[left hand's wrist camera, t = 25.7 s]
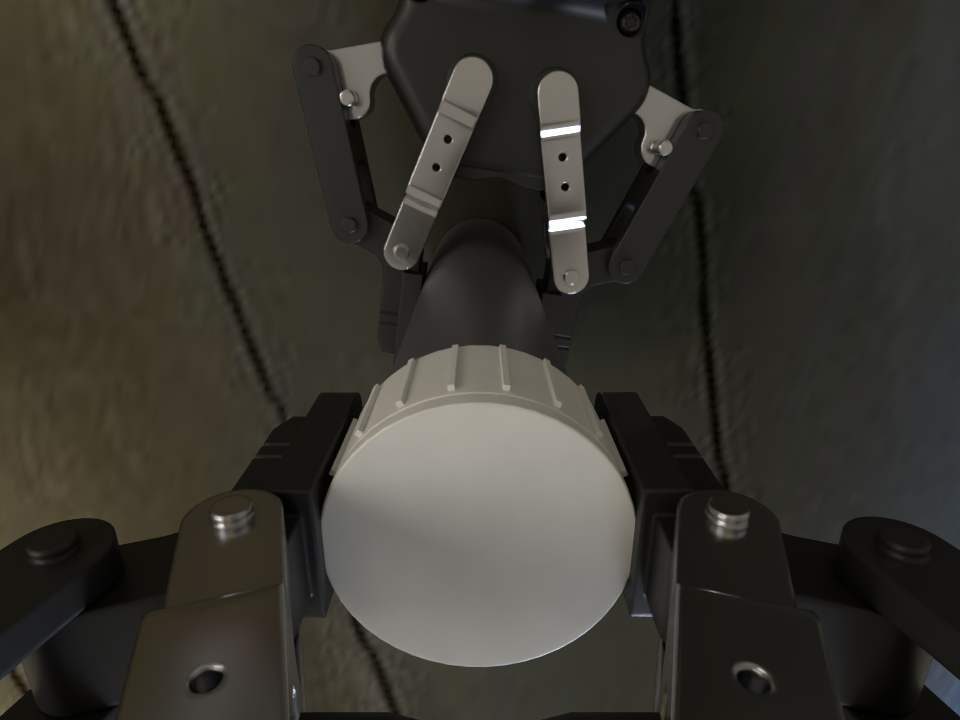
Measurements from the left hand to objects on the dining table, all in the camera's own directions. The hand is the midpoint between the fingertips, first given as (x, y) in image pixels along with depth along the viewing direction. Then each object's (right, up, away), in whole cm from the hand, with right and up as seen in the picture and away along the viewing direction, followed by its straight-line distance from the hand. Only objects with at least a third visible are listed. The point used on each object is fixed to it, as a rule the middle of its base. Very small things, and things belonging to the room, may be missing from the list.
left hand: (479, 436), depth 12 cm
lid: (0, -1, -3) cm, 3 cm away
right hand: (0, +1, +11) cm, 11 cm away
